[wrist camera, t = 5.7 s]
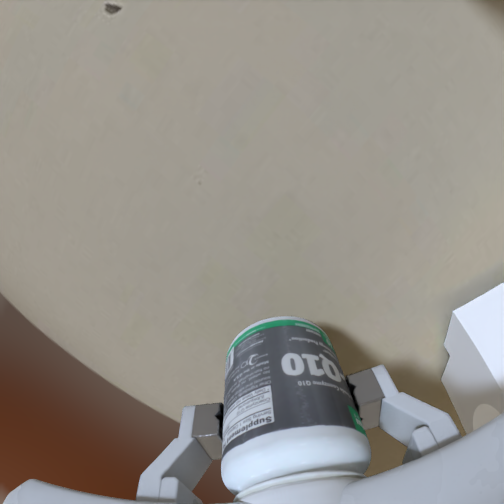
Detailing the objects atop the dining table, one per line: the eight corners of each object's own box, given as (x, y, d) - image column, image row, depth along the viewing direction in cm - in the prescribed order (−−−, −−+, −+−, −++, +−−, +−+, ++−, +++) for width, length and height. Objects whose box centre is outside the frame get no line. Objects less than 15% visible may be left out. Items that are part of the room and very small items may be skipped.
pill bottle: (349, 351, 13) (413, 510, 5) (272, 402, 14) (290, 553, 6) (286, 290, 12) (340, 499, 4) (203, 354, 13) (184, 538, 5)
